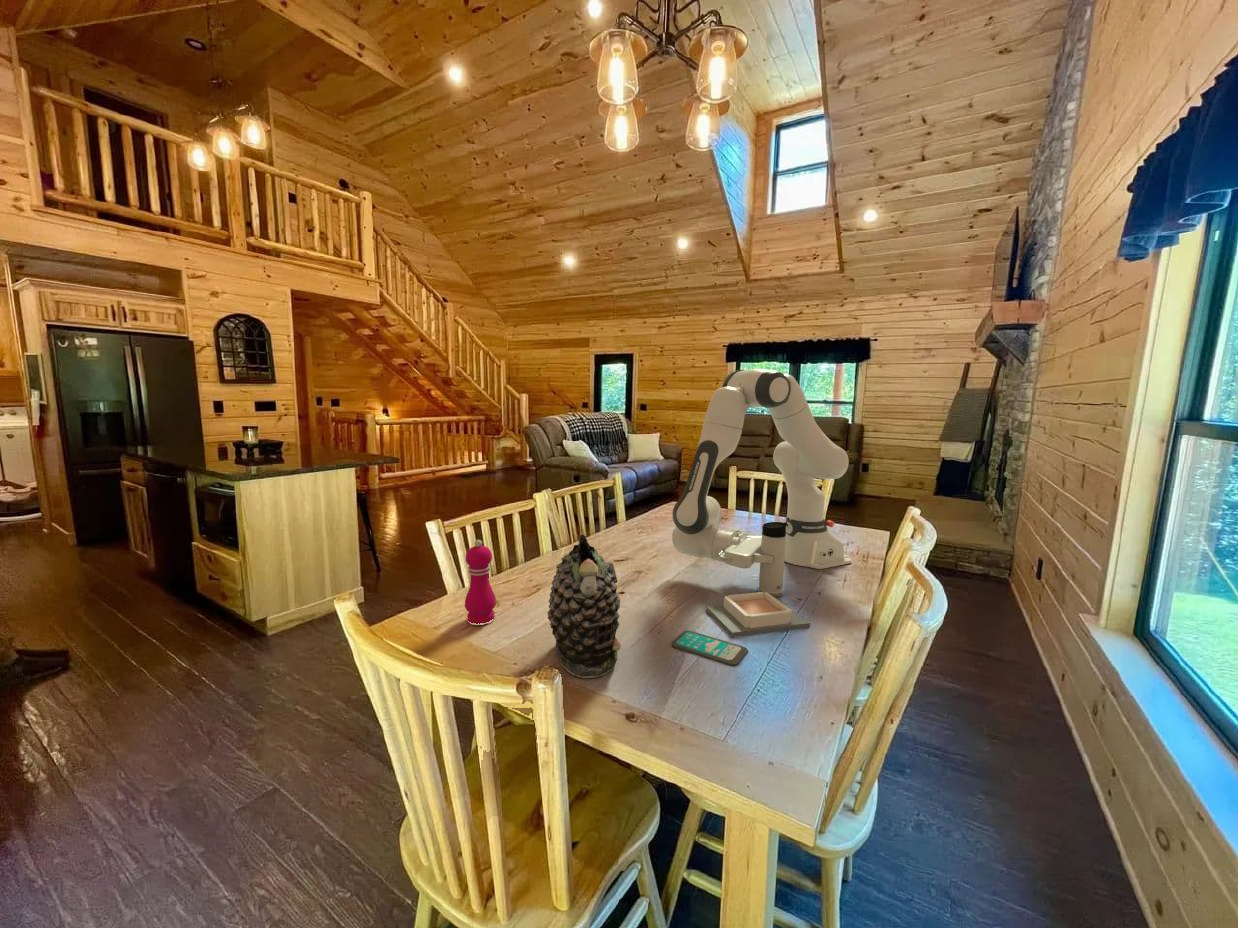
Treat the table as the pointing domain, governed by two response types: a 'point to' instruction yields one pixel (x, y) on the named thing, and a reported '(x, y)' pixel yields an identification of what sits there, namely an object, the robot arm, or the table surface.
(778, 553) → the travel mug
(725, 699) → the table surface
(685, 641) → the smartphone
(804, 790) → the table surface
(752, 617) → the tray
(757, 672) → the table surface
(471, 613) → the pepper mill
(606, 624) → the decorative house
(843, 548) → the robot arm
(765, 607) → the pad
